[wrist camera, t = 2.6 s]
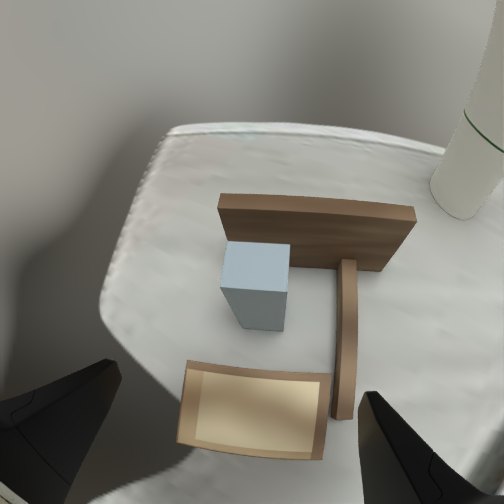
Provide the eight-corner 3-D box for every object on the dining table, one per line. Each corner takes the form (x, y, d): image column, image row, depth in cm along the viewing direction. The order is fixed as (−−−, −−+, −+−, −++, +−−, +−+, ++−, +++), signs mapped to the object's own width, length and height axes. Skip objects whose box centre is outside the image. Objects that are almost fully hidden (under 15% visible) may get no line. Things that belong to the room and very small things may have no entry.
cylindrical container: (483, 212, 24) (573, 52, 2) (452, 226, 24) (556, 28, 2) (453, 169, 28) (516, 9, 6) (419, 177, 27) (483, -16, 5)
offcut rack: (375, 454, 15) (420, 479, 8) (179, 440, 17) (131, 461, 10) (379, 259, 23) (413, 206, 16) (209, 249, 25) (184, 193, 18)
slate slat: (283, 331, 21) (287, 291, 13) (243, 328, 21) (219, 286, 13) (285, 301, 22) (290, 244, 14) (246, 298, 23) (227, 241, 14)
